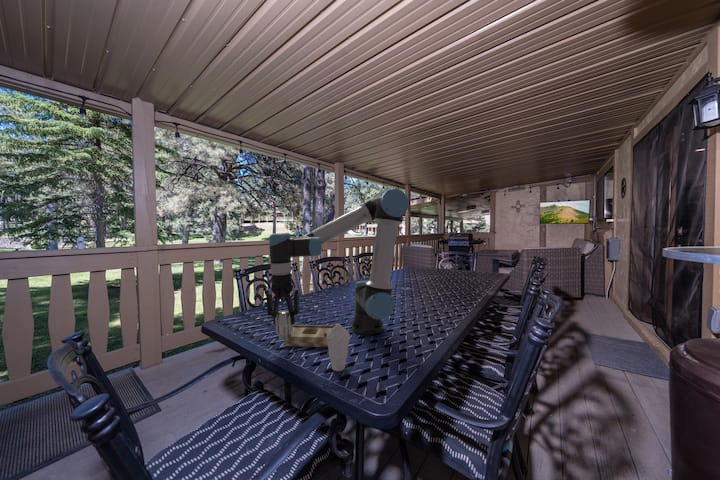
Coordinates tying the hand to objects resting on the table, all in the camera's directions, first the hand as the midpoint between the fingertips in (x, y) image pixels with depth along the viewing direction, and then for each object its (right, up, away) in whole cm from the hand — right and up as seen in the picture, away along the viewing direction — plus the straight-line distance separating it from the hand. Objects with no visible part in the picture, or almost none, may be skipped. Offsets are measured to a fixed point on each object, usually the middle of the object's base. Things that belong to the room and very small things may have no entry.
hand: (284, 332), depth 106 cm
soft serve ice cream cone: (+22, -8, -12) cm, 26 cm away
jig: (+8, -7, +11) cm, 15 cm away
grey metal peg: (0, -2, 0) cm, 2 cm away
